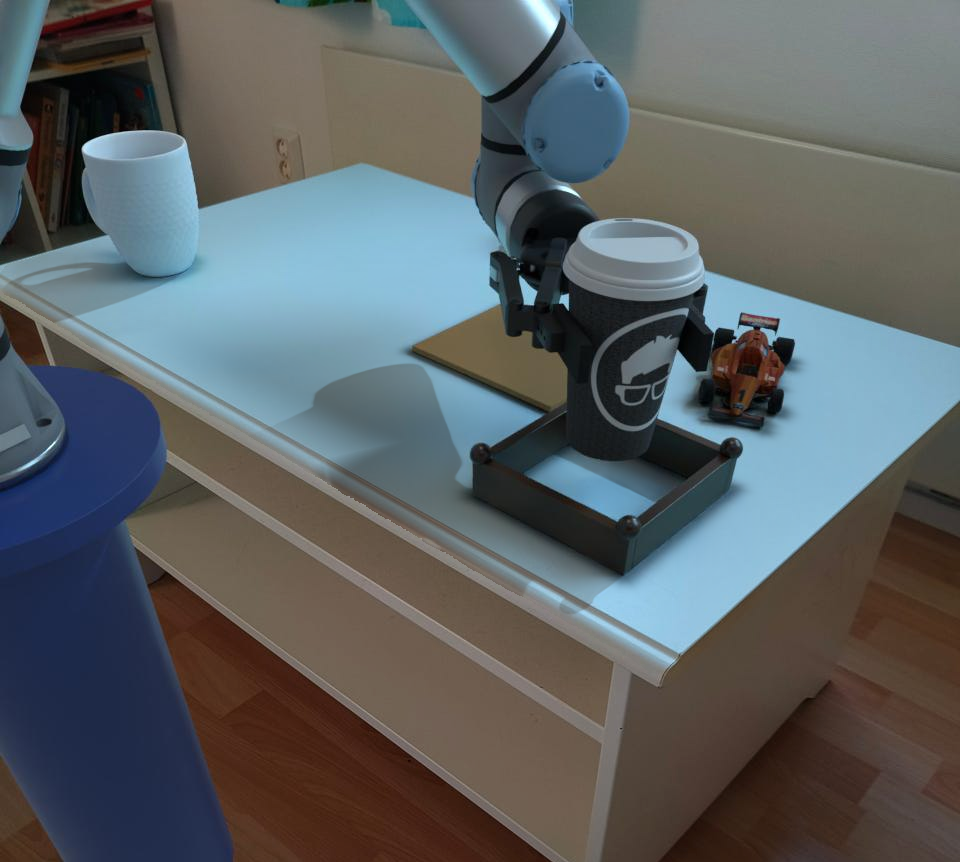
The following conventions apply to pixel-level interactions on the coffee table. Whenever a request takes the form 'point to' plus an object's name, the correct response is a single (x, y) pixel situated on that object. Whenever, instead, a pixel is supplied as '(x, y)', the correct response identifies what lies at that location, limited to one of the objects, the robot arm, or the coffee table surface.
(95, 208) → the mug
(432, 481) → the coffee table surface
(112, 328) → the coffee table surface
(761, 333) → the toy car
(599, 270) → the coffee cup
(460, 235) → the coffee table surface
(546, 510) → the dark square frame
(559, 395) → the cork mat
